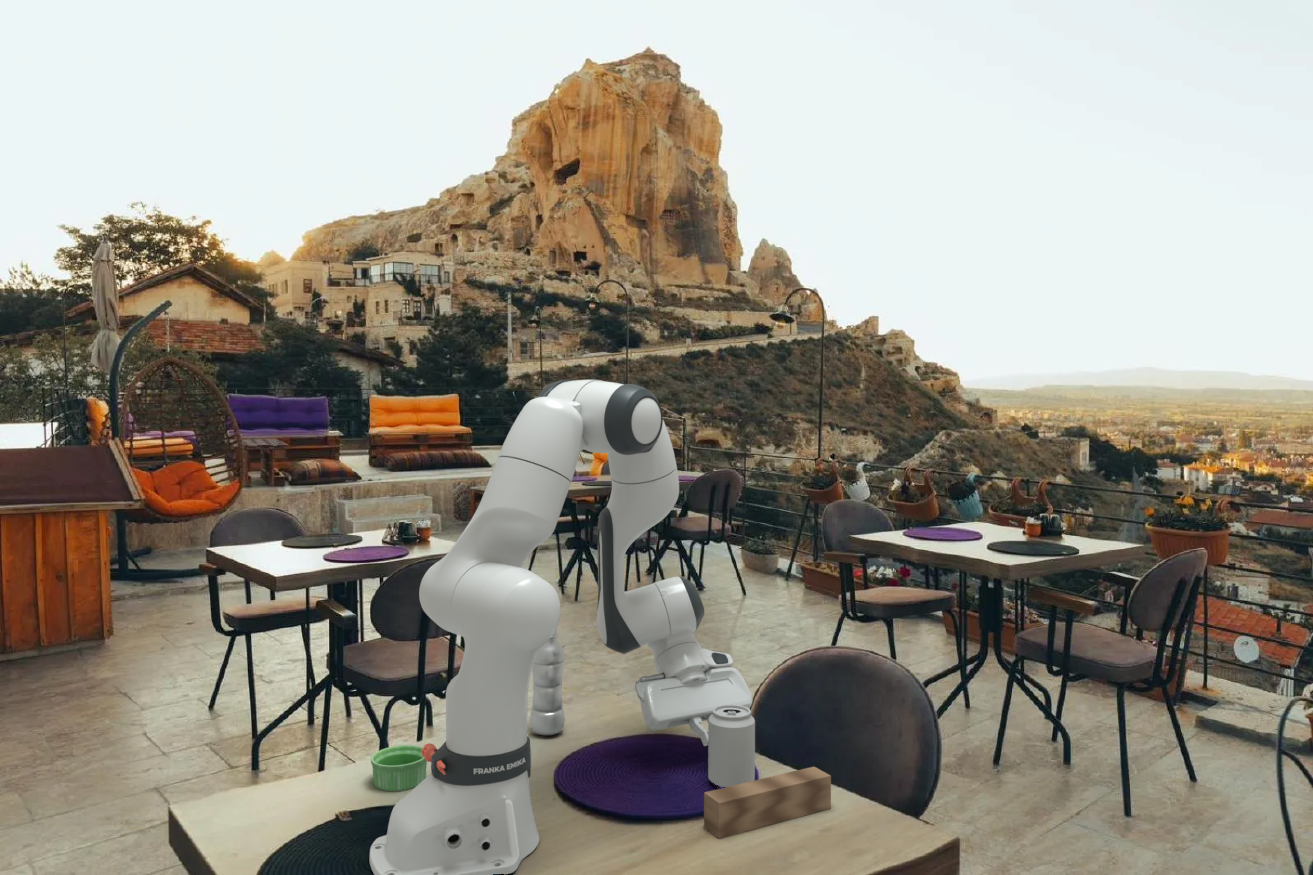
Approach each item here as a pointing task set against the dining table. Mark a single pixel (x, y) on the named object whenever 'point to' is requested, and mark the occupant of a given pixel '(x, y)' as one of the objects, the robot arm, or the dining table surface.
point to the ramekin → (398, 767)
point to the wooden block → (766, 801)
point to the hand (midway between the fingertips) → (713, 743)
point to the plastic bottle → (548, 689)
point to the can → (731, 745)
